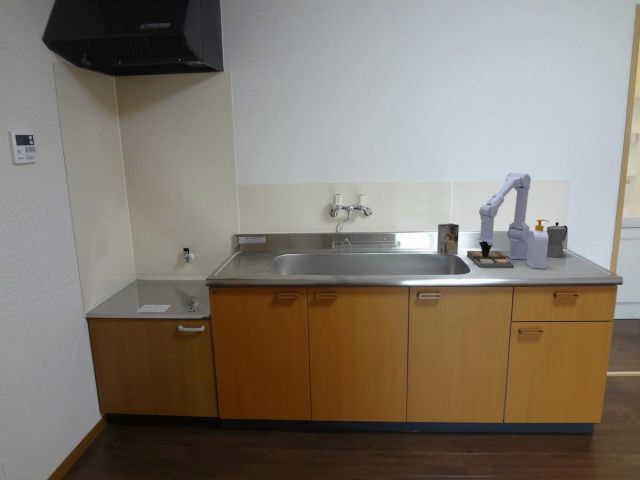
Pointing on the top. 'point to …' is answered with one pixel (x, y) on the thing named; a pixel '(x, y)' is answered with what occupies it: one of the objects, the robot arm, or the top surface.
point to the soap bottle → (537, 247)
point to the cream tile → (486, 261)
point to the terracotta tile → (500, 261)
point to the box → (509, 265)
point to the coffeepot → (556, 240)
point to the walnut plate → (491, 255)
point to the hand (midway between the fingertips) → (485, 256)
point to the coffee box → (447, 239)
